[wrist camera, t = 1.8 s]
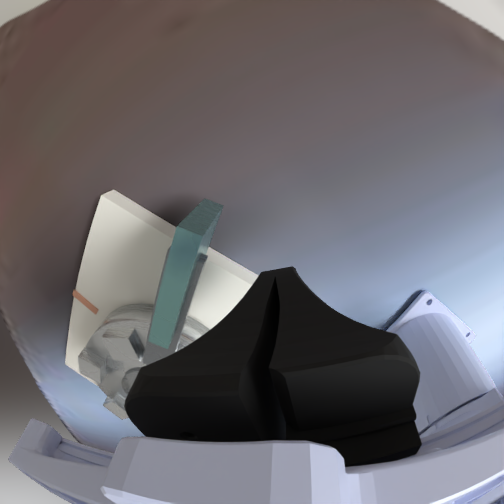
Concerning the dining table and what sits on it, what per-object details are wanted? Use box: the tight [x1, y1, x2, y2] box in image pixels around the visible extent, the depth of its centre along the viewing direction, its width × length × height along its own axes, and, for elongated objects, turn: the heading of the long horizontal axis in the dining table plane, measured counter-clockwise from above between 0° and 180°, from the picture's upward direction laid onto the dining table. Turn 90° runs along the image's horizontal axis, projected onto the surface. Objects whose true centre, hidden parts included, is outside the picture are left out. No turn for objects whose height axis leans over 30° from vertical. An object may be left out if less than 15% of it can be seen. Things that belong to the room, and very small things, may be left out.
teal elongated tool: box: [78, 199, 223, 419], centre depth 16 cm, size 18×11×5 cm, turn 158°
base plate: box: [65, 190, 258, 386], centre depth 20 cm, size 17×19×2 cm
